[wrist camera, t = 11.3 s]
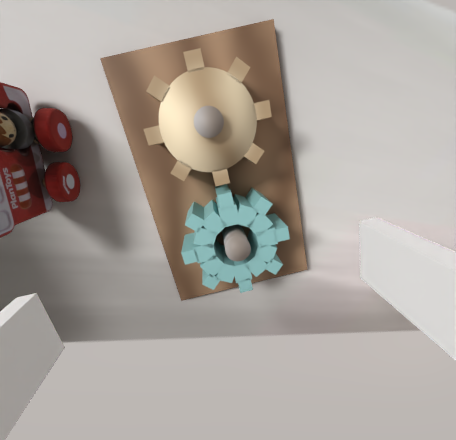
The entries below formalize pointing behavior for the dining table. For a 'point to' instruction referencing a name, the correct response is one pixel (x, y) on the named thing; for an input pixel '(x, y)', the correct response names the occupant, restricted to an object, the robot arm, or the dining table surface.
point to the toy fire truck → (31, 159)
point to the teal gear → (227, 216)
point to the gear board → (199, 182)
